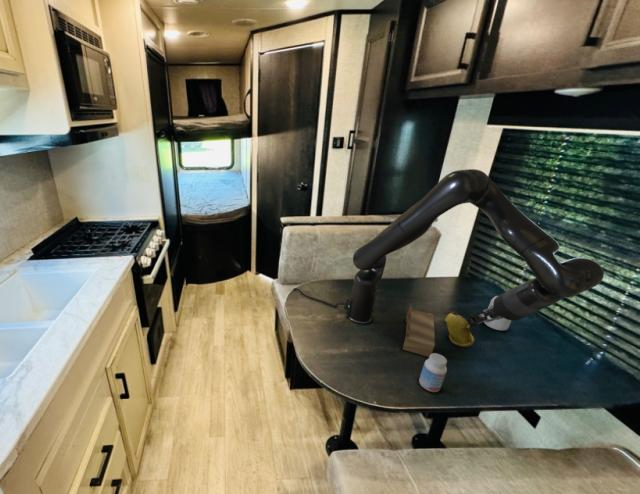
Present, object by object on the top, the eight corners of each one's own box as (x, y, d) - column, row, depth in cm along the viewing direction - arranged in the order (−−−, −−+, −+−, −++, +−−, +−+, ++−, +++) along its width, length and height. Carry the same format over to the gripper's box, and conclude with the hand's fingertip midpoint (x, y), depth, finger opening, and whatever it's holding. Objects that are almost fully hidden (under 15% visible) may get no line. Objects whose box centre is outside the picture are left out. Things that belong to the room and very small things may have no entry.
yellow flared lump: (451, 353, 114) (463, 319, 108) (434, 338, 121) (444, 306, 115) (477, 348, 116) (491, 315, 110) (459, 334, 123) (471, 302, 117)
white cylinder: (485, 328, 126) (495, 303, 121) (481, 317, 133) (490, 293, 128) (509, 334, 123) (521, 308, 118) (504, 322, 130) (514, 298, 125)
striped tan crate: (430, 357, 112) (436, 340, 108) (402, 349, 116) (407, 332, 112) (429, 326, 128) (434, 310, 124) (405, 320, 132) (409, 304, 128)
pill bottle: (431, 395, 97) (440, 368, 92) (414, 381, 102) (422, 354, 98) (444, 388, 99) (454, 362, 95) (427, 375, 104) (435, 349, 100)
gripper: (533, 283, 86) (496, 303, 100) (486, 296, 85) (454, 314, 100) (553, 308, 83) (511, 325, 97) (503, 322, 82) (468, 337, 96)
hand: (482, 319), depth 98 cm, fingers open, 8 cm apart
